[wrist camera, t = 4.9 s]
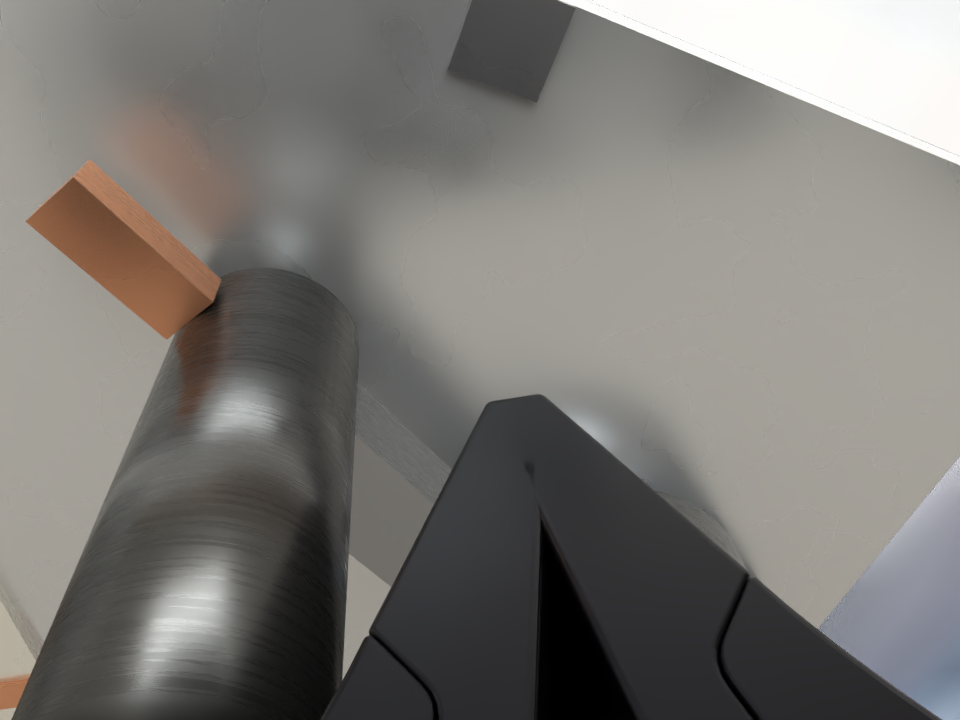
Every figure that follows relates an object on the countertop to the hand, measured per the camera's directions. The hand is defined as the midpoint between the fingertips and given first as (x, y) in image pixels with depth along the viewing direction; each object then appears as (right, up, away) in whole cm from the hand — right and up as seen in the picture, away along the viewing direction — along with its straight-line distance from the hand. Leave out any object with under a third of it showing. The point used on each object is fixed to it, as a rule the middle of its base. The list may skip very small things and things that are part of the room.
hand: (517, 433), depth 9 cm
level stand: (-2, -2, +8) cm, 8 cm away
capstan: (0, -2, +6) cm, 6 cm away
